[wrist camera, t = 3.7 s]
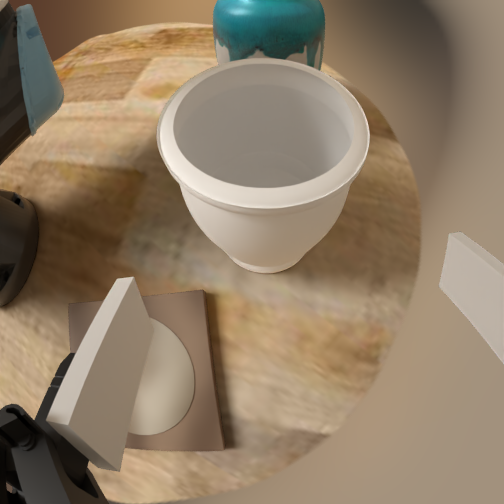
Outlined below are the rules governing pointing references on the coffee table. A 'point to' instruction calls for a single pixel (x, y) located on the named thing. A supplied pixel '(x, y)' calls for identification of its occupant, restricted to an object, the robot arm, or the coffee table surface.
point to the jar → (263, 156)
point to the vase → (269, 30)
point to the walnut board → (170, 375)
